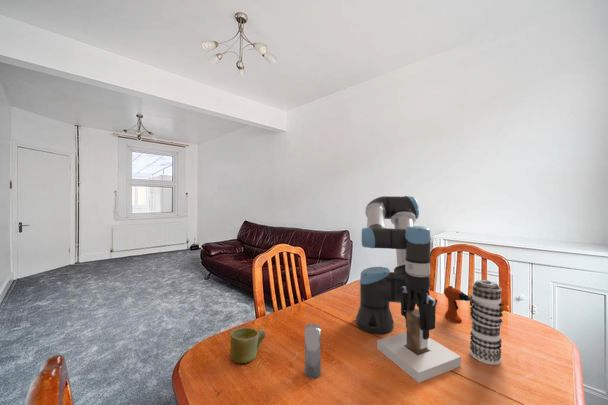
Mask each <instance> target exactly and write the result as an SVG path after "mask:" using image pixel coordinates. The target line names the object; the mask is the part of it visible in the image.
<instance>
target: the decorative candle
mask: <svg viewBox="0 0 608 405" xmlns="http://www.w3.org/2000/svg"><path fill="white" fill-rule="evenodd" d="M471 286H472V292H471V295H470V296H469V298H470V302H469V306H471V307H470V308H469V309H470V320H471V321H472V322H471V331H470V342H469V344H470V346H469V349H470V350H469V351H470V355H471V356H472V357H473V358H474V359H475V360H477V361H479V362H482V363H483V364H488V365H490V366H491V365H493V366H495V365H497V366H498V365H500V364H501V363H502V359H501V358H502V349H501V348H502V344H501V343H502V339H501V336H502V335H501V328H502V326H503V325H502V323H503V320H502V319H501V318H502V317H503V316H504V314H503V312H504V309H503V308H502V307H503V306H504V305H505V304H504V302H503V301H502V297H501V296H502V295H501V294H502V293H501V292H502V290H503V288H502V287H501V286H499V284H497V282H494V281H492V280H487V279H486V280H485V279H477V280H476V281H475V282H474V283H471ZM472 299H473V300H472Z"/></svg>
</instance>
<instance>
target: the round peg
mask: <svg viewBox="0 0 608 405" xmlns="http://www.w3.org/2000/svg"><path fill="white" fill-rule="evenodd" d="M321 330H322V329H321V326H320V325H319V324H316V323H310V324H309V323H308V324H307V325H305V326H304V374H305V376H306V378H308V377H309V379H310V378H316V379H318V378H320V377H321V375H322V369H321V368H322V367H321V366H322V365H321V364H322V363H321V362H322V360H321V359H322V356H321V354H322V352H321V351H322V349H321V346H322V344H321V343H322V340H321V339H322V338H321V336H322V335H321V333H322V332H321Z"/></svg>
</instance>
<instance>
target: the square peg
mask: <svg viewBox="0 0 608 405" xmlns="http://www.w3.org/2000/svg"><path fill="white" fill-rule="evenodd" d="M421 327H422V326H421V320H420V314H419V308H415V309H414V310H409V311H407V328H406V332H407V348H408V349H409V350H410V351H412V352H413V353H415V354H416V355H420V354H423V353H426V352H427V347H426V348H423V349H420V348H419V335H420V328H421ZM427 342H428V339H427Z"/></svg>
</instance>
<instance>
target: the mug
mask: <svg viewBox="0 0 608 405" xmlns="http://www.w3.org/2000/svg"><path fill="white" fill-rule="evenodd" d="M265 338H266V331H265V330H264V328H259V329H257V330H256V329H254V328H252V327H238V328H235V329H234V330H233V331H231V333H230V341H229V342H230V348H229V350H230V351H229V353H230V354H229V357H230V360H231V361H232V362H233V363H236V364H240V363H246V364H248V363H247V362H249V363H251V362H253V361H254V360H255V359H256V357H257V353H258V351H259V349H260V347H261V344H262V343H263V341H264V339H265ZM253 359H254V360H253ZM252 360H253V361H252ZM250 361H251V362H250Z"/></svg>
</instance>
